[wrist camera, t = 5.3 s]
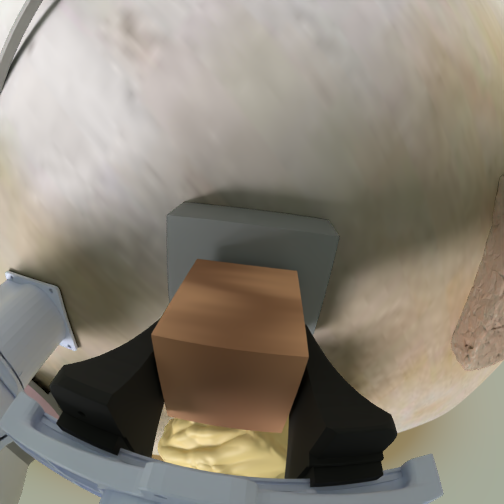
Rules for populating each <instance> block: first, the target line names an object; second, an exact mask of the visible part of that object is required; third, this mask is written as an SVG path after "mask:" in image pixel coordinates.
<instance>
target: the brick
mask: <svg viewBox="0 0 504 504" xmlns="http://www.w3.org/2000/svg"><path fill="white" fill-rule="evenodd" d="M451 348H452V351H453V352H454V354H455V355H456V359H457V361H458V362H459V363H460V364H461V366H462V367H463V368H464V370H466V371H472V370H476V369H477V370H479V369H481V368H485V367H488V366H491V365H494V364H495V363H497V362H499V361H502V360H503V359H504V175H502V176H501V177H500V181H499V186H498V192H497V195H496V199H495V206H494V212H493V225H492V226H491V230H490V233H489V236H488V239H487V242H486V248H485V250H484V255H483V259H482V262H481V263H480V265H479V269H478V273H477V276H476V278H475V281H474V286H473V288H472V289H471V291H470V294H469V297H468V299H467V302H466V304H465V307H464V309H463V312H462V314H461V316H460V318H459V322H458V324H457V326H456V330H455V332H454V334H453V337H452V340H451Z"/></svg>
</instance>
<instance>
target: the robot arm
mask: <svg viewBox="0 0 504 504" xmlns="http://www.w3.org/2000/svg"><path fill="white" fill-rule="evenodd" d="M5 275H6V279H7V280H6V281H5V282H4V283H2V284H1V285H0V451H1V450H2V449H3V448H4V447H5V446H6V445H7V444H9V443H11V442H13V441H14V442H15V443H16V444H17V445H18V446H19V447H20V448H21V449H22V450H24V451H25V452H26V453H28V454H29V455H30V456H32V457H33V458H35V459H36V460H38V461H39V462H40V463H42V464H44V465H45V466H47V467H48V468H50V469H51V470H53V471H54V472H56V473H57V474H59V475H61V476H62V477H64V478H66V479H67V480H69V481H71V482H72V483H74V484H76V485H78V486H80V487H81V488H83V489H85V490H87V491H89V492H91V493H93V494H95V495H97V496H99V497H101V500H100V502H99V504H428V503H430V502H432V501H434V500H436V499H437V498H439V497H441V496H443V490H442V486H441V482H440V478H439V475H438V471H437V468H436V464H435V461H434V458H433V454H428V455H424V456H421V457H417V458H413V459H411V460H409V461H407V462H405V463H404V464H403V465H402V466H401V467H399V468H394V469H389V470H384V471H383V469H382V464H381V461H382V460H383V458H384V457H383V451H384V450H385V449H386V448H387V447H388V446H389V445H390V444H391V443H392V442H393V441H394V439H395V438H396V436H397V431H396V427H395V424H394V421H393V418H392V416H391V414H389V413H387V412H386V411H384V410H382V409H381V408H379V407H377V406H376V405H374V404H373V403H371V402H370V401H369V400H367V399H366V398H364V397H363V396H362V395H361V394H359V393H358V392H357V391H356V390H355V389H354V388H353V387H352V386H350V385H349V384H348V383H347V382H346V381H345V380H344V379H343V377H342V376H341V375H340V374H339V373H338V372H337V371H336V369H335V368H334V367H333V366H332V364H331V363H330V362H329V360H328V359H327V357H326V356H325V355H324V353H323V352H322V350H321V349H320V347H319V345H318V344H317V342H316V340H315V339H314V337H313V335H312V333H311V332H310V330H309V328H308V326H307V325H306V324H305V329H306V337H307V345H308V353H309V358H308V361H307V364H306V368H305V371H304V374H303V376H302V379H301V382H300V385H299V388H298V391H297V394H296V396H295V399H294V402H293V405H292V407H291V410H290V413H289V427H288V445H287V457H286V468H285V476H284V479H278V478H259V477H247V476H237V475H229V474H222V473H215V472H209V471H204V470H198V469H193V468H189V467H184V466H180V465H175V464H171V463H167V462H163V461H160V460H156V459H153V458H151V457H152V451H153V446H154V441H155V437H156V432H157V428H158V424H159V420H160V416H161V412H162V409H163V405H164V398H163V393H162V389H161V384H160V380H159V375H158V370H157V365H156V360H155V354H154V349H153V343H152V337H151V334H152V332H153V330H154V329H155V327H156V325H157V324H158V322H159V320H160V319H159V320H158V321H157V322H155V323H154V324H153V325H152V326H150V327H149V328H148V329H146V330H145V331H144V332H142V333H141V334H139V335H138V336H136V337H135V338H134V339H132V340H130V341H129V342H127V343H125V344H123V345H122V346H120V347H118V348H116V349H114V350H111V351H109V352H107V353H105V354H102V355H100V356H97V357H94V358H91V359H88V360H85V361H81V362H77V363H73V364H68V365H64V366H63V367H62V368H61V370H60V371H59V372H58V374H57V375H56V376H55V378H54V379H53V381H52V382H51V384H50V386H49V387H50V391H51V393H52V395H53V397H54V399H55V400H56V402H57V403H58V405H59V406H60V408H61V409H62V411H63V412H62V414H61V415H60V417H59V419H56V418H54V417H53V416H51V415H49V414H47V413H46V412H45V411H44V409H43V408H42V406H41V405H40V404H39V403H38V402H37V401H35V400H34V399H33V398H31V397H29V396H28V395H27V394H26V393H25V391H24V389H25V388H26V386H27V385H28V384H29V382H30V381H31V380H32V378H33V377H34V376H35V374H36V373H37V372H38V370H39V369H40V368H41V366H42V365H43V364H44V363H45V361H46V360H47V359H48V357H49V356H50V355H51V354H52V352H53V351H54V350H55V349H56V348H57V346H58V345H61V346H63V347H66V348H68V349H71V350H73V351H76V350H77V349H78V347H77V344H76V341H75V338H74V335H73V333H72V330H71V327H70V324H69V320H68V317H67V314H66V311H65V307H64V304H63V300H62V297H61V293H60V290H59V288H58V287H57V286H54V285H51V284H48V283H44V282H41V281H38V280H35V279H32V278H28V277H25V276H22V275H19V274H16V273H13V272H11V271H6V272H5Z"/></svg>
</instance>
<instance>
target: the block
mask: <svg viewBox="0 0 504 504" xmlns="http://www.w3.org/2000/svg"><path fill="white" fill-rule="evenodd" d="M151 337H152V343H153V349H154V354H155V360H156V365H157V370H158V375H159V380H160V384H161V389H162V393H163V398H164V402H165V406H166V410H167V414H168V416H170V417H174V418H178V419H183V420H188V421H192V422H197V423H202V424H208V425H214V426H220V427H226V428H234V429H241V430H250V431H261V432H273V433H282V431H283V428H284V426H285V423H286V420H287V418H288V415H289V413H290V410H291V407H292V405H293V402H294V399H295V396H296V394H297V391H298V388H299V385H300V382H301V379H302V376H303V374H304V371H305V368H306V364H307V361H308V358H309V353H308V345H307V337H306V329H305V322H304V315H303V307H302V300H301V293H300V287H299V280H298V274H297V271H294V270H285V269H277V268H268V267H260V266H251V265H243V264H235V263H227V262H219V261H211V260H203V259H197V260H196V261H195V263H194V264H193V266H192V268H191V269H190V271H189V272H188V274H187V276H186V277H185V279H184V280H183V282H182V284H181V285H180V287H179V289H178V290H177V292H176V293H175V295H174V297H173V298H172V300H171V302H170V303H169V305H168V307H167V308H166V310H165V312H164V313H163V315H162V317H161V318H160V320H159V322H158V324H157V325H156V327H155V329H154V330H153V332H152V334H151Z"/></svg>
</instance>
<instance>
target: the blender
mask: <svg viewBox="0 0 504 504" xmlns="http://www.w3.org/2000/svg"><path fill="white" fill-rule="evenodd" d="M24 391H25V393H26V394H27V395H28V396H29V397H31V398H33V399H34V400H35V401H37V402H38V403H39V404H40V405H41V406H42V408H43V409H44V411H45V412H46V413H47V414H49V415H51V416H53V417H54V418H56V419H59V417H60V415H61V414H62V411H61V409H60V408H59V406H58V403H57V402H56V400H55V399H54V397H53V395H52V393H51V392H50V393H49V394H47V393H46V392H44V391H43V390H42V389H41V388H40V387H39V386H38V385H37V384H36V383H34V382H33V381H32V380H31V381H30V382H29V384H28V385H27V386H26V388H25V389H24ZM33 460H35V458H33V457H32V456H30V455H29V454H28V453H26V452H25V451H24V450H22V449H21V448H20V447H19V446H18V445H17V444H16V443H15V442H14V441H13V442H11V443H9V444H7V445H6V446H5V447H4V448H3V449H2V450H1V451H0V504H18V502H19V499H20V496H21V493H22V490H23V485H24V481H25V477H26V473H27V469H28V466H29V464H30V463H31V462H32V461H33Z"/></svg>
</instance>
